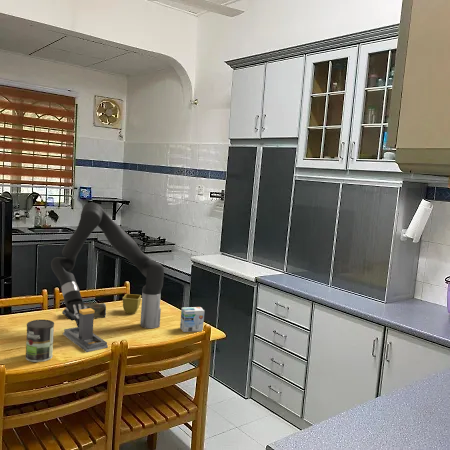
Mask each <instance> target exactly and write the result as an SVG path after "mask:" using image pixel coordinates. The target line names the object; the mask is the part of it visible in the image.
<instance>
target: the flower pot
mask: <svg viewBox="0 0 450 450" xmlns="http://www.w3.org/2000/svg"><path fill="white" fill-rule="evenodd" d="M141 302H142V295H141V294H131V293H125V295H124V296H122V307H123V308H122V309H123V310H124V312H125V314H134V315H136V313H137V311H138V309H139V308H140V305H141Z"/></svg>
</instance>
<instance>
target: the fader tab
mask: <svg viewBox="0 0 450 450" xmlns="http://www.w3.org/2000/svg"><path fill="white" fill-rule="evenodd" d="M79 313H80V319H79V337H80V338H81V339H83V340H89V339H93V333H94V321H95V320H94V319H95V318H94V313H95V310H93V309H91V308H88V309H81V310H79Z"/></svg>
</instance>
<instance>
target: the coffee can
mask: <svg viewBox="0 0 450 450" xmlns="http://www.w3.org/2000/svg"><path fill="white" fill-rule="evenodd" d="M54 327H55V322H54V321H53V320H49V319H34V320H30V321H28V322H27V323H26V344H25V360H26V361H27V362H31V363H41V362H47V361H49V360H51V359H52V358H53V356H54V355H53V351H54V350H53V347H54Z"/></svg>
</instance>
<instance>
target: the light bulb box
mask: <svg viewBox="0 0 450 450" xmlns="http://www.w3.org/2000/svg"><path fill="white" fill-rule="evenodd" d="M180 310H181V311H180V322H179V328H180V330H181V331H182V332H184V333H187V332H188V333H189V332H190V333H191V332H192V333H193V332H203V331H204V321H205V309H203V307H201V306H193V307H192V306H191V307H190V306H189V307H187V306H186V307H181V309H180ZM202 330H203V331H202Z"/></svg>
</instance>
